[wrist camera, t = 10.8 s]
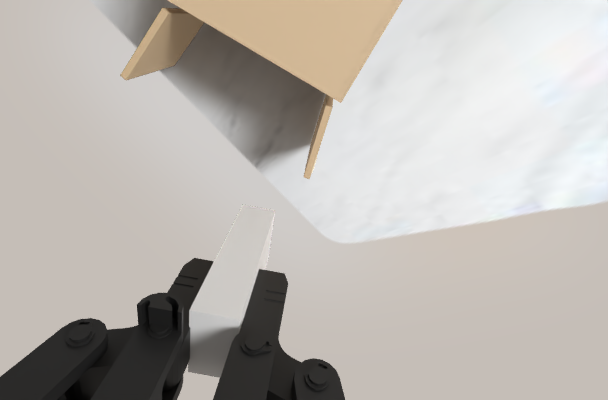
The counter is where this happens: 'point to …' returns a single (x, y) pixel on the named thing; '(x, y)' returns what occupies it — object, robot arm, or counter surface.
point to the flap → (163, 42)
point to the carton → (303, 34)
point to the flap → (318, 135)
